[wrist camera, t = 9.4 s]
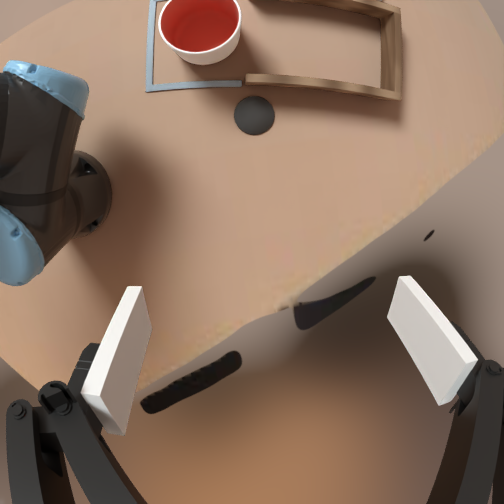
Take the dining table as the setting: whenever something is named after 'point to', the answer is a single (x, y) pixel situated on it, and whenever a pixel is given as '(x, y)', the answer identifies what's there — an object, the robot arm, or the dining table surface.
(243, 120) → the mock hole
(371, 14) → the cubby
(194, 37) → the cup
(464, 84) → the dining table surface
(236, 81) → the pale blue bent rod
